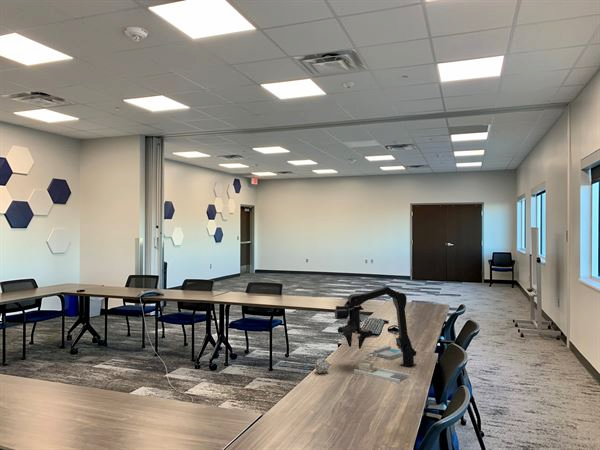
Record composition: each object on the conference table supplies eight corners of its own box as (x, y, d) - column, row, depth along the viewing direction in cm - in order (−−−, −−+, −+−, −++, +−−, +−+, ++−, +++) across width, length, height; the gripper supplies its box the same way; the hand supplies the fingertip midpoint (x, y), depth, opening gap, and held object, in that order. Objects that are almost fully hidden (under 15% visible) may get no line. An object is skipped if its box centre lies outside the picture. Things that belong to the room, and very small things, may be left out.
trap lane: (365, 367, 231) (365, 364, 231) (410, 377, 214) (410, 374, 214) (353, 372, 223) (353, 369, 223) (399, 383, 206) (399, 380, 206)
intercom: (361, 352, 247) (387, 344, 263) (361, 359, 247) (387, 351, 263) (379, 356, 237) (406, 348, 254) (380, 364, 237) (406, 355, 254)
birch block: (365, 368, 228) (365, 360, 228) (375, 370, 224) (375, 362, 224) (359, 371, 224) (358, 362, 224) (368, 373, 220) (368, 364, 220)
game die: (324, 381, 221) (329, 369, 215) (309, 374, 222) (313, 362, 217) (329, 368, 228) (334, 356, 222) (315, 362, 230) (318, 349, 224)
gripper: (331, 318, 230) (331, 348, 229) (360, 323, 217) (361, 354, 217) (343, 315, 238) (344, 343, 238) (372, 319, 226) (373, 349, 225)
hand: (354, 347), depth 229 cm, fingers open, 6 cm apart
